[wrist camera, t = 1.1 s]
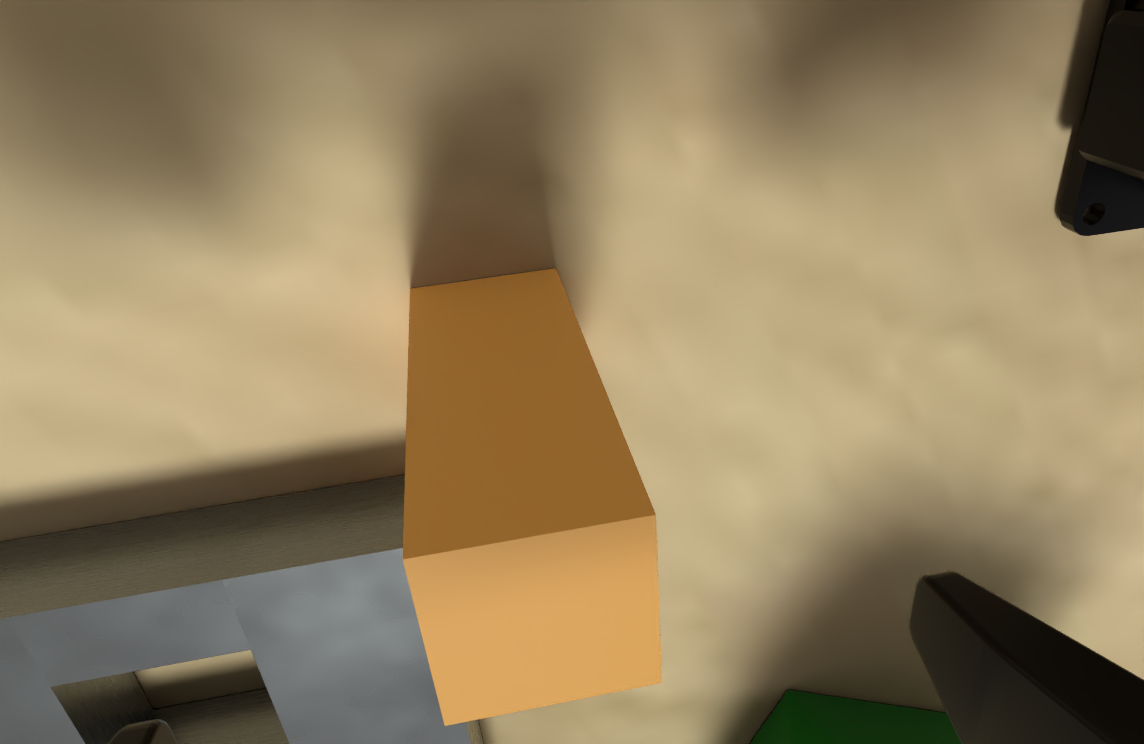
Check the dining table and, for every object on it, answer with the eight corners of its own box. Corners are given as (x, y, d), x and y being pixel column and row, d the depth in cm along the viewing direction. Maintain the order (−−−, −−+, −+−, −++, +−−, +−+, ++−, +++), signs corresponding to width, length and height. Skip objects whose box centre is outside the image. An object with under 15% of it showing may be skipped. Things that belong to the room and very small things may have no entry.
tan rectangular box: (555, 267, 16) (655, 514, 9) (568, 391, 18) (662, 682, 11) (410, 288, 16) (402, 559, 9) (434, 412, 17) (444, 726, 11)
